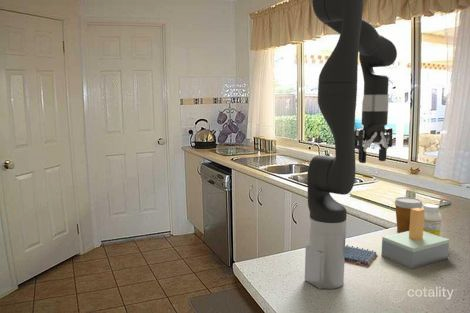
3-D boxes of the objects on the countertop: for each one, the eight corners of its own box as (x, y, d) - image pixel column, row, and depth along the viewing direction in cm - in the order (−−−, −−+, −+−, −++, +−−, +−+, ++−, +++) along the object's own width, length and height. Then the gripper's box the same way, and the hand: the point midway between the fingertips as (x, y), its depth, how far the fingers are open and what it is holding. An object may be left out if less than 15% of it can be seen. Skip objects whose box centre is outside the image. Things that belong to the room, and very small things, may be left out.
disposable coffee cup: (424, 231, 142) (426, 199, 141) (415, 238, 136) (417, 204, 134) (398, 226, 149) (400, 195, 147) (388, 232, 142) (390, 200, 140)
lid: (413, 256, 110) (415, 217, 108) (382, 243, 120) (384, 208, 118) (448, 246, 117) (451, 210, 116) (417, 235, 127) (419, 202, 126)
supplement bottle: (420, 237, 136) (423, 202, 134) (441, 242, 132) (444, 205, 130) (415, 243, 131) (417, 205, 129) (437, 247, 127) (439, 209, 125)
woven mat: (333, 261, 117) (333, 254, 117) (345, 250, 126) (345, 244, 126) (368, 269, 111) (369, 262, 111) (378, 257, 120) (378, 250, 120)
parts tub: (412, 268, 111) (413, 252, 110) (381, 255, 120) (382, 239, 119) (447, 258, 118) (449, 242, 117) (416, 246, 128) (417, 231, 127)
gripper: (367, 110, 114) (364, 165, 116) (401, 109, 120) (398, 161, 122) (348, 109, 120) (346, 161, 122) (381, 109, 127) (379, 158, 129)
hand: (372, 161), depth 122 cm, fingers open, 8 cm apart
